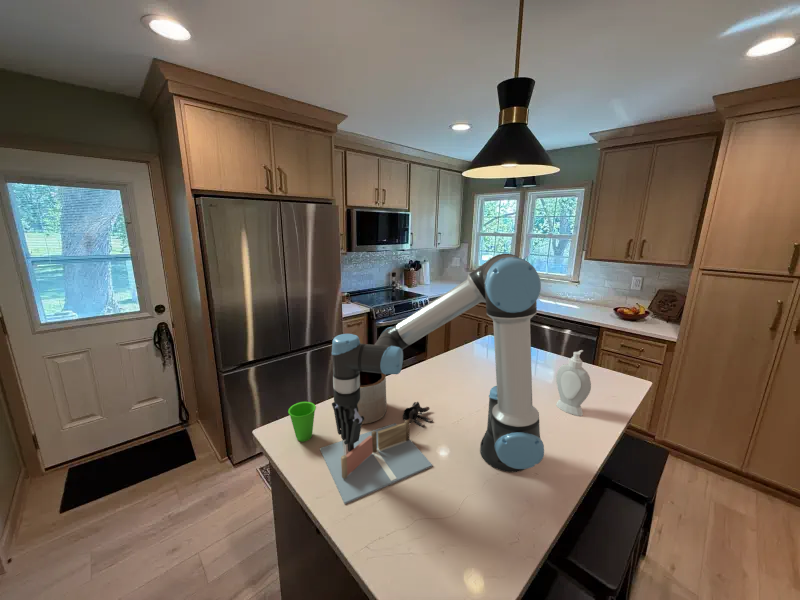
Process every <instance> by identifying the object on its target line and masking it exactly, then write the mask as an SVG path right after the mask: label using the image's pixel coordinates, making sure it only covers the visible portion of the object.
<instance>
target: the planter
mask: <svg viewBox="0 0 800 600" xmlns="http://www.w3.org/2000/svg"><path fill="white" fill-rule="evenodd" d="M386 376H387V375H386V374H381V373H372V372H362V371H360V400H359V402H358V404H357V406H358V413H359V415H360V417H361V416H363V417H364V421H363V422H362V425H367V424H372V423H374V422H377V421H379V420H380V419H381V418H383V417H384V416H385V415H386V412H387V405H388V404H387V377H386Z"/></svg>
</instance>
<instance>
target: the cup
mask: <svg viewBox="0 0 800 600" xmlns="http://www.w3.org/2000/svg"><path fill="white" fill-rule="evenodd" d="M316 409H317V406H316V404H314V403H313V402H311V401H310V402H309V401H300V402H297V403H295V404H293V405H291V406H290V407H289V408H288V411H287V413H288V415H289V417H290V419H291V423H292V427H293V431H294V433H295V434H294V435H295V438H296V440H297V441H298V442H307V441H309V440H311V438H312V436H313V430H314V422H315V421H314V419H315V411H316Z"/></svg>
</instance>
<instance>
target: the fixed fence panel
mask: <svg viewBox="0 0 800 600" xmlns="http://www.w3.org/2000/svg"><path fill="white" fill-rule="evenodd" d="M410 424H411V423H410V421H409V420H404V422H402V423H399V424H397V425H396V426H393V427H390V428H387V429H384V430H381V431H378V449H379V450H380V449H382V448H385V447H388V446H390V445H393V444H396V443H399V442H401V441H404V440H406V441H409V439H410V430H411V429H410V428H411V426H410ZM371 431H372V447H373V453H376V452H377V432H376V431H373V430H371Z"/></svg>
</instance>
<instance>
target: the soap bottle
mask: <svg viewBox="0 0 800 600" xmlns="http://www.w3.org/2000/svg"><path fill="white" fill-rule="evenodd" d="M583 352H584V350H583V349H581V350H578V351H573V356H571V357H570V358H569V359H568V363H565V364H562V365H560V366H559V368H558V369H557V372H556V376H555V378H556V379H555V380H556V385H557V391H558V395H559V399H558V400H557V402H556V407H557V408H559V409H560V410H561V411H563V412H565V413H567V414H570V415H573V416H577V417H582V416H583V414H584V413H583V409H582V406H581V405H582V404H583V403H584V402H585V401H586V399H587V398H588V396H589V395H590V393H591V389H592V383H591V382H592V381H591V378H590V375H589V373H588V371H587V370H586V369H584V367H583V360H582V359H581V358H580V355H581V353H583Z"/></svg>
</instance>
